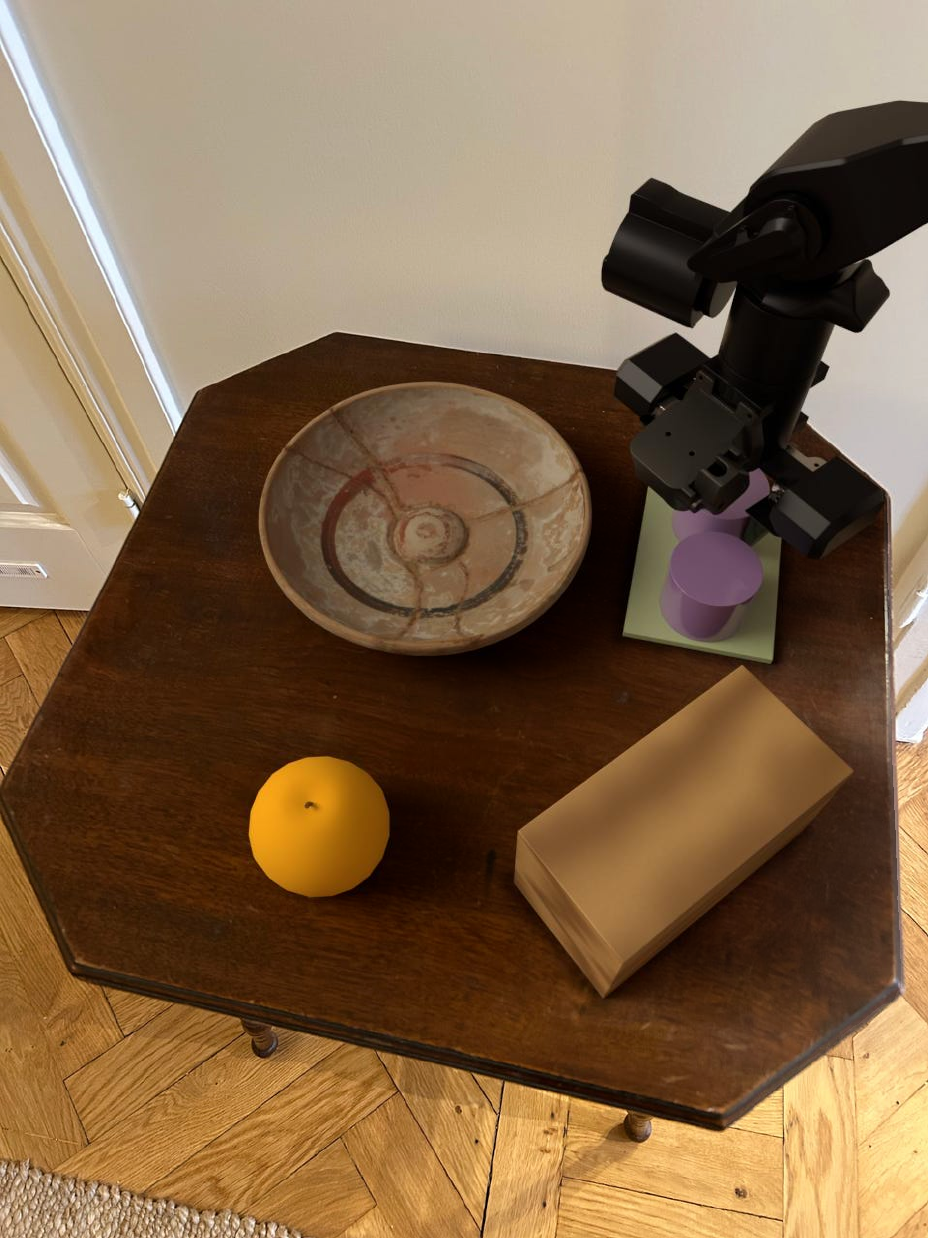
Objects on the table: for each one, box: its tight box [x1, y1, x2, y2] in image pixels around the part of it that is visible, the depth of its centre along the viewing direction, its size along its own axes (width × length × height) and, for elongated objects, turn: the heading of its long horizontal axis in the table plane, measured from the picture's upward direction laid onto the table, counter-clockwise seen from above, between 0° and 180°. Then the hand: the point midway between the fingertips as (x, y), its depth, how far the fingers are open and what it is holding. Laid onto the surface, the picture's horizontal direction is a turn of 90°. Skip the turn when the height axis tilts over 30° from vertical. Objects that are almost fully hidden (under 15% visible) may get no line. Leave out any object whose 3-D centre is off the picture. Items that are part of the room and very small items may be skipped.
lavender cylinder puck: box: [671, 468, 771, 542], centre depth 65 cm, size 6×6×4 cm
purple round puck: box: [659, 531, 763, 642], centre depth 61 cm, size 6×6×4 cm
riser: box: [513, 664, 855, 999], centre depth 50 cm, size 8×16×9 cm, turn 126°
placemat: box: [622, 485, 782, 665], centre depth 65 cm, size 14×10×1 cm
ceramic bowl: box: [258, 381, 593, 657], centre depth 65 cm, size 23×24×5 cm
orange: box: [248, 755, 390, 898], centre depth 52 cm, size 8×8×8 cm
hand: (714, 519), depth 66 cm, fingers closed on lavender cylinder puck, 6 cm apart
